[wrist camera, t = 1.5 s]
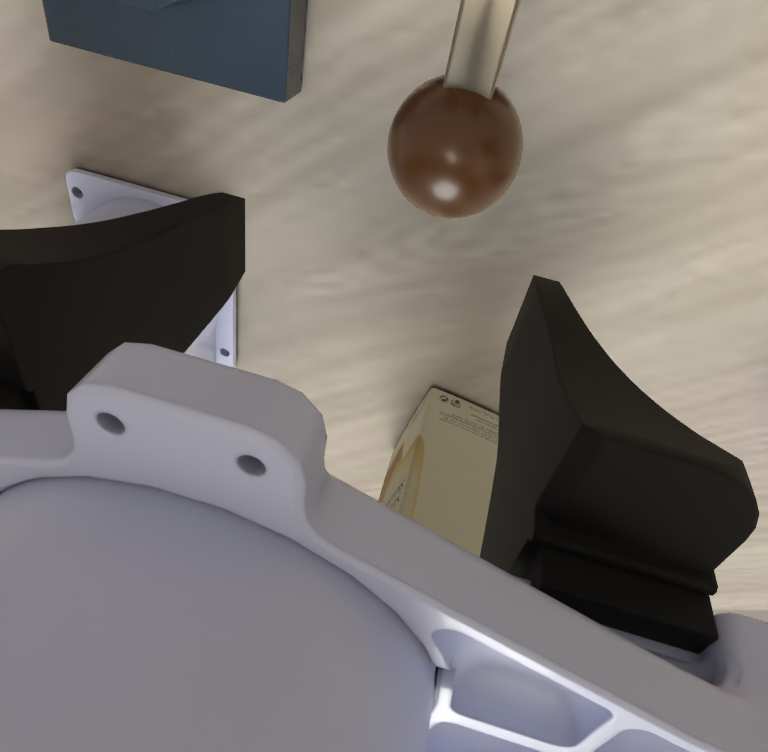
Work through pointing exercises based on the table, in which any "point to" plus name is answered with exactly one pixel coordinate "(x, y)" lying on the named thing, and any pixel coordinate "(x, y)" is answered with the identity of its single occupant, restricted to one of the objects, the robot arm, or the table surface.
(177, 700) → the robot arm
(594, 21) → the table surface
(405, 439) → the cosmetic box
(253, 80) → the button box
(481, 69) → the lever
